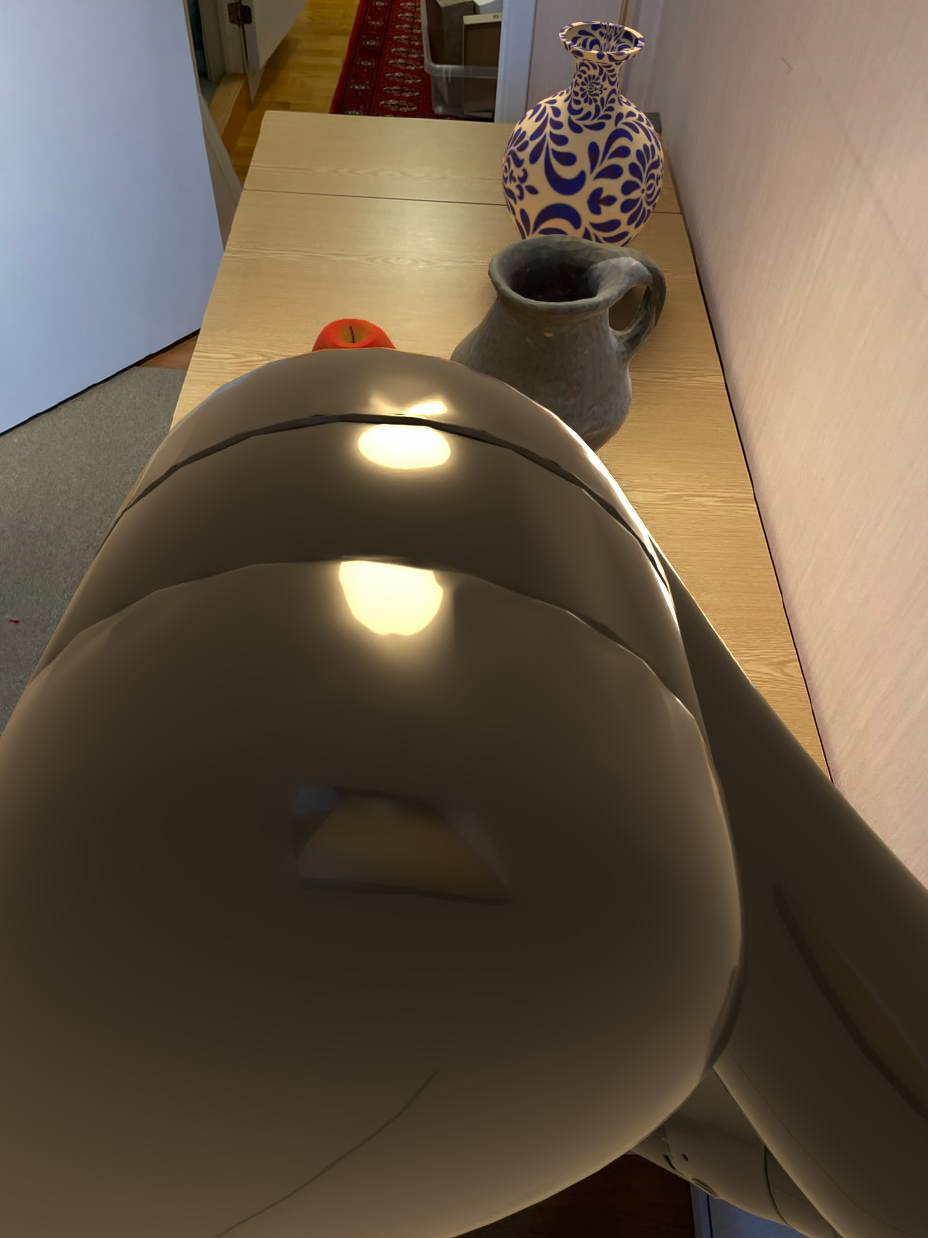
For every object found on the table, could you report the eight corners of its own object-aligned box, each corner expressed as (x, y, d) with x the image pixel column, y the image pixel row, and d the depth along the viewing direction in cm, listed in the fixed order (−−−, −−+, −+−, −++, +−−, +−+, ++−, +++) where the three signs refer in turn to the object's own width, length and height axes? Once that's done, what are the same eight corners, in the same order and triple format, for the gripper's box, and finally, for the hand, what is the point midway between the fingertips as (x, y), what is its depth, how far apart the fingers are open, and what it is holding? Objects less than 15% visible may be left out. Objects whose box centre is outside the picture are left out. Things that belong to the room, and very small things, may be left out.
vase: (613, 324, 132) (659, 88, 109) (469, 280, 137) (484, 46, 114) (662, 252, 145) (712, 28, 122) (528, 214, 150) (552, -7, 127)
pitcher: (436, 399, 119) (443, 200, 100) (610, 397, 122) (650, 201, 103) (449, 516, 106) (461, 313, 87) (645, 511, 108) (698, 312, 89)
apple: (406, 381, 122) (406, 304, 113) (393, 436, 115) (393, 359, 106) (320, 372, 122) (314, 295, 114) (302, 427, 115) (294, 349, 107)
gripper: (780, 915, 45) (555, 868, 58) (591, 1174, 38) (383, 1052, 51) (845, 1035, 47) (612, 962, 60) (676, 1304, 39) (454, 1153, 53)
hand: (507, 1004), depth 55 cm, fingers open, 8 cm apart
